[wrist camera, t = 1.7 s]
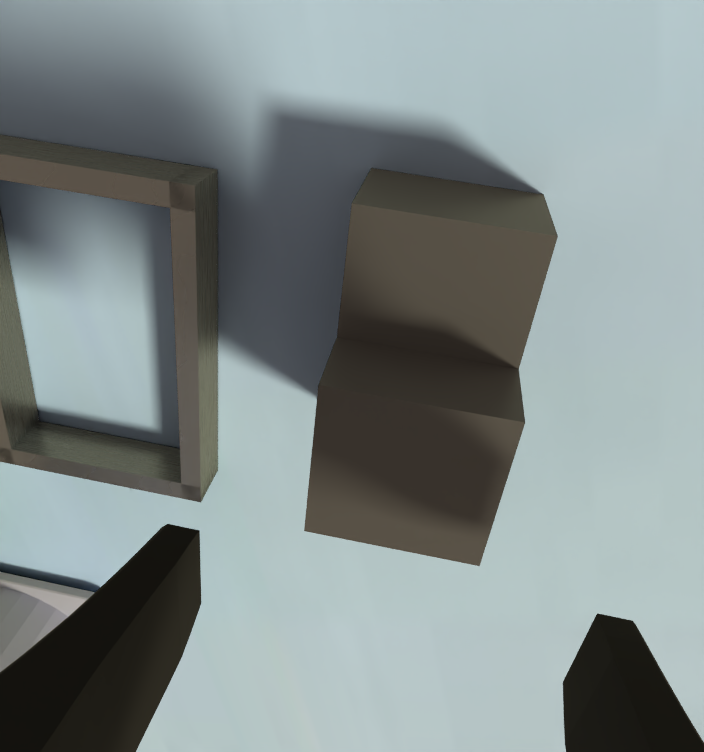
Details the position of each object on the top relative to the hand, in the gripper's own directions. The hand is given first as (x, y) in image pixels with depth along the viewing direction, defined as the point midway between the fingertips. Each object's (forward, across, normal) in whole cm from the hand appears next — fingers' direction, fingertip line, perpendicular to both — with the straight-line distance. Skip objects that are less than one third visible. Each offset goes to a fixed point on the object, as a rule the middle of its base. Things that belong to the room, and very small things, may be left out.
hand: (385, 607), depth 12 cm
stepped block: (+8, 0, -2) cm, 8 cm away
